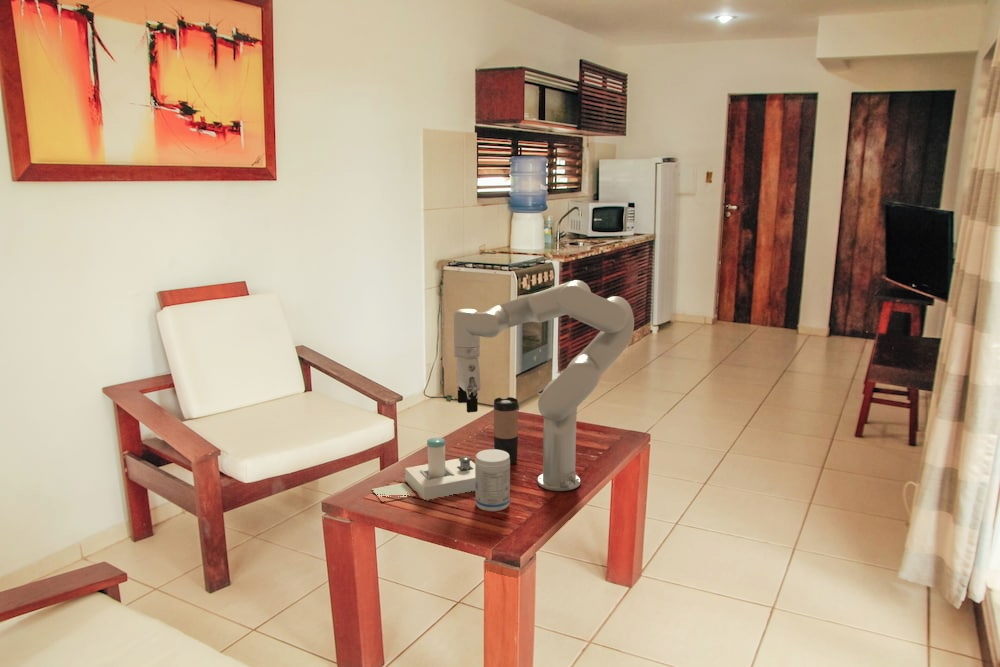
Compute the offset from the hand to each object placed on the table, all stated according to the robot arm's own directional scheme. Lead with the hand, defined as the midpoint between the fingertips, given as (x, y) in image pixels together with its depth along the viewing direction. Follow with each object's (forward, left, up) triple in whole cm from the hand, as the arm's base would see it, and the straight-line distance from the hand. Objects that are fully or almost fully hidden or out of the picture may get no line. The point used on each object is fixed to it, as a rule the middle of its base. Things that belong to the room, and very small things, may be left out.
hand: (467, 407), depth 226 cm
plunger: (-4, +3, -19) cm, 20 cm away
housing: (-4, +9, -22) cm, 23 cm away
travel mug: (+5, -15, -22) cm, 27 cm away
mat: (-3, +25, -22) cm, 33 cm away
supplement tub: (-23, +3, -22) cm, 32 cm away
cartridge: (-4, +12, -22) cm, 25 cm away
